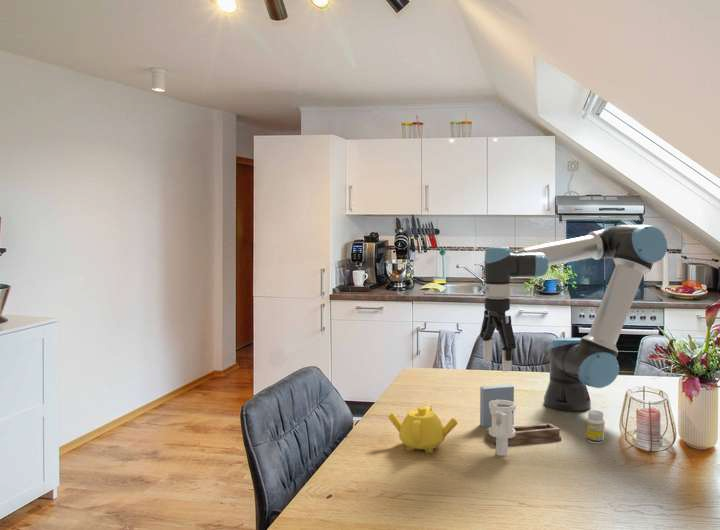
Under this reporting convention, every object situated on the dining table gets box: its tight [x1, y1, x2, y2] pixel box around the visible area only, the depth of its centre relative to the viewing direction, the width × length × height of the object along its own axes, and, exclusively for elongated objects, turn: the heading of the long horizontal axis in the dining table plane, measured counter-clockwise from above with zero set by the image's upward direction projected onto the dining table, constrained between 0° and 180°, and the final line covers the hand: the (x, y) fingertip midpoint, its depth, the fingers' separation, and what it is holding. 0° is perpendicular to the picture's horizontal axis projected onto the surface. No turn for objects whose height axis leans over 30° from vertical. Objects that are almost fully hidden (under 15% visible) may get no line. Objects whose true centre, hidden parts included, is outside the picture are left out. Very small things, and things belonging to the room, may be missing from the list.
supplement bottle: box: [586, 409, 605, 445], centre depth 176 cm, size 5×5×8 cm
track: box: [484, 423, 562, 446], centre depth 179 cm, size 20×8×3 cm, turn 103°
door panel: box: [479, 384, 515, 428], centre depth 191 cm, size 10×3×12 cm, turn 103°
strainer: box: [488, 399, 517, 457], centre depth 167 cm, size 7×7×15 cm
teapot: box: [387, 405, 458, 454], centre depth 173 cm, size 20×18×11 cm
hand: (497, 365), depth 190 cm, fingers open, 13 cm apart
